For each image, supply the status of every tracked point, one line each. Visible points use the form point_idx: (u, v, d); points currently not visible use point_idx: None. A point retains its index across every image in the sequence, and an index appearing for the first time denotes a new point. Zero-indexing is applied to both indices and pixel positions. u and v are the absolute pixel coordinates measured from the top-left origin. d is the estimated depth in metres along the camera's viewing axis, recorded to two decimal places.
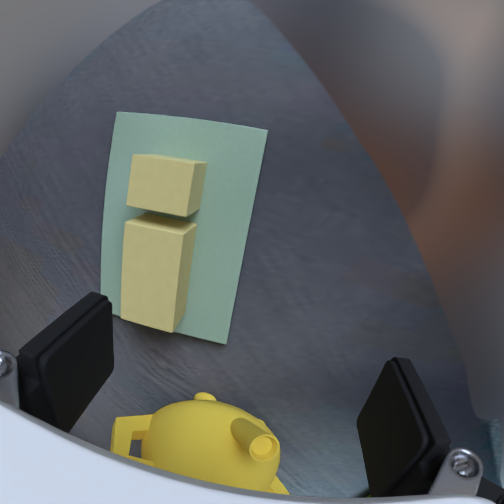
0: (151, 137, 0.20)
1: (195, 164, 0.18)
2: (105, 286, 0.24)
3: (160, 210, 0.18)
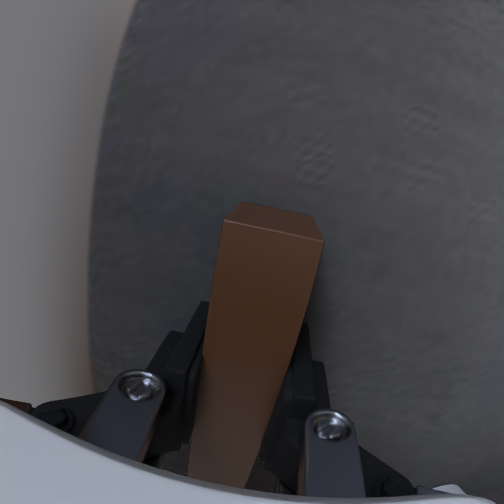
0: None
1: None
2: None
3: None
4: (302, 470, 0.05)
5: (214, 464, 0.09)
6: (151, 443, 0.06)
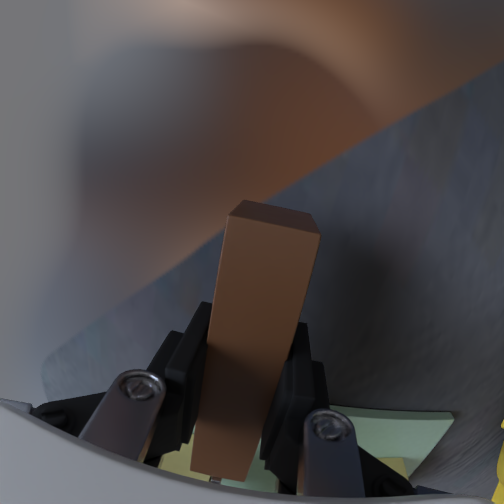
0: None
1: None
2: None
3: None
4: (301, 470, 0.05)
5: (217, 454, 0.10)
6: (152, 443, 0.06)
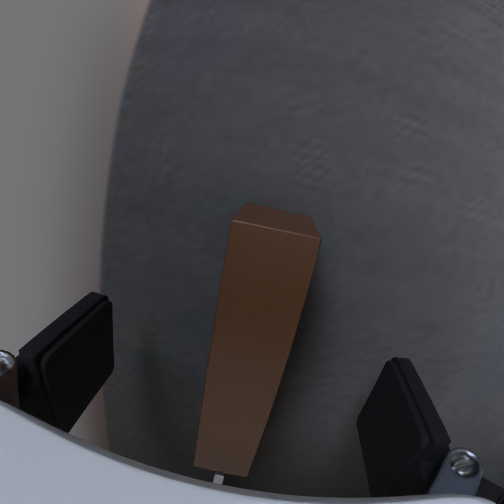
0: None
1: None
2: None
3: None
4: (426, 491, 0.04)
5: (220, 449, 0.10)
6: None
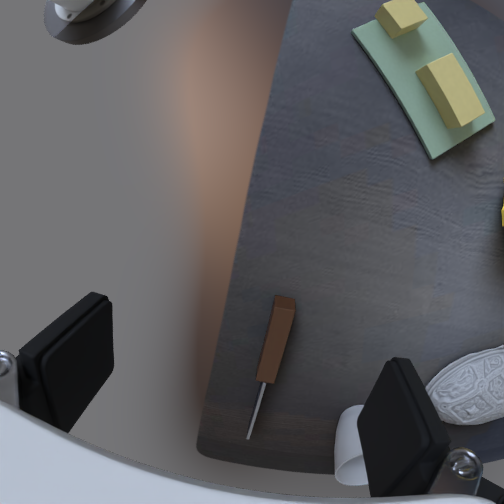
0: (384, 31, 0.25)
1: None
2: (426, 137, 0.28)
3: (417, 21, 0.22)
4: (427, 491, 0.04)
5: (266, 371, 0.35)
6: None
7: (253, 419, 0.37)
